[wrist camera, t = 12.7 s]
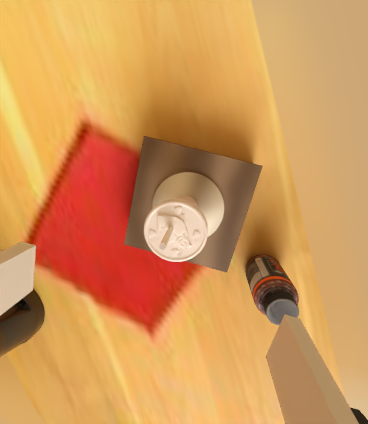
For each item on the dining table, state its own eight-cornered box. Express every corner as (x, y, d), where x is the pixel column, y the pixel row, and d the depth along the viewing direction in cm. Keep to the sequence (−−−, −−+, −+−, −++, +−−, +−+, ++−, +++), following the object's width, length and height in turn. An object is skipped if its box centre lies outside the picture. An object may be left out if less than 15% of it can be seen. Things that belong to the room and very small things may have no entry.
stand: (136, 231, 39) (123, 245, 33) (154, 138, 35) (143, 135, 29) (224, 254, 39) (227, 273, 33) (253, 164, 34) (263, 166, 28)
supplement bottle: (287, 267, 38) (319, 312, 27) (263, 290, 40) (284, 341, 29) (260, 246, 38) (282, 283, 27) (237, 270, 39) (248, 315, 28)
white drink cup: (186, 175, 30) (168, 194, 16) (217, 210, 30) (226, 256, 17) (152, 207, 31) (111, 247, 18) (183, 239, 32) (166, 301, 18)
